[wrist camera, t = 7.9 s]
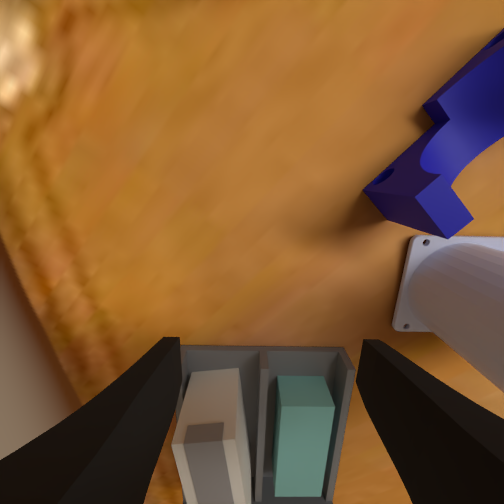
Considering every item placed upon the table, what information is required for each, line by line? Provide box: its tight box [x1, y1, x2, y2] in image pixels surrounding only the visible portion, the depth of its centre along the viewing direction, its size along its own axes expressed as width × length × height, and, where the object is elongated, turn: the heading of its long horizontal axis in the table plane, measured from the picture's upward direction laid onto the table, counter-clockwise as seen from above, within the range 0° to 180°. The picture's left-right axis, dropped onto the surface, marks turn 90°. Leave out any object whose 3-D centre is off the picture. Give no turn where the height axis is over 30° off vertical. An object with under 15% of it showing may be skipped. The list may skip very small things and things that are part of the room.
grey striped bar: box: [171, 368, 251, 504], centre depth 20 cm, size 4×10×6 cm, turn 6°
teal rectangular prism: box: [272, 376, 335, 497], centre depth 22 cm, size 4×10×3 cm, turn 179°
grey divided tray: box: [176, 345, 356, 504], centre depth 22 cm, size 14×16×3 cm
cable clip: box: [363, 29, 504, 239], centre depth 14 cm, size 12×4×6 cm, turn 135°
